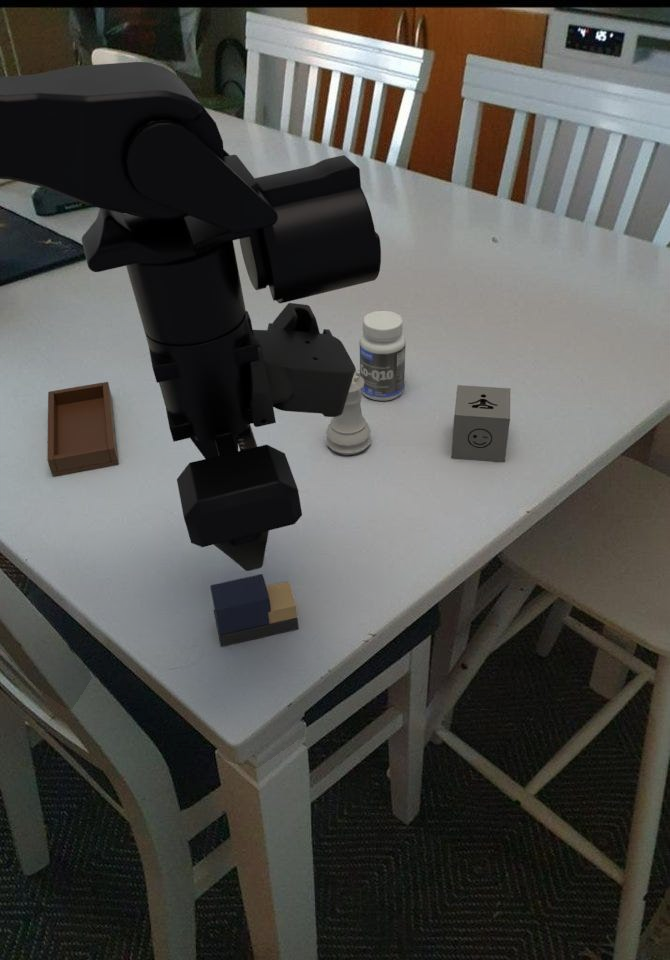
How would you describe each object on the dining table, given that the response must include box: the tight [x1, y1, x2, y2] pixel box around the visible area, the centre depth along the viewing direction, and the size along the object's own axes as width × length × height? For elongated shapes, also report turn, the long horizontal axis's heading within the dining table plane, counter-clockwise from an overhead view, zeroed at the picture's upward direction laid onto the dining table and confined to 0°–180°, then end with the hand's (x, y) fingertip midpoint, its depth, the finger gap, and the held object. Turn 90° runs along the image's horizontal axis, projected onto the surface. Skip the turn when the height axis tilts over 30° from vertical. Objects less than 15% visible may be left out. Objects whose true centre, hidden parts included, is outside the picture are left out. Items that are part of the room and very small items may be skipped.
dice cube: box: [450, 384, 511, 463], centre depth 77 cm, size 5×5×5 cm
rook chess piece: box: [325, 367, 372, 456], centre depth 77 cm, size 4×4×8 cm
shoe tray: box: [46, 381, 120, 477], centre depth 81 cm, size 6×12×2 cm, turn 15°
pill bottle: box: [358, 310, 407, 402], centre depth 84 cm, size 5×5×8 cm
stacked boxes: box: [209, 573, 300, 648], centre depth 61 cm, size 6×3×4 cm, turn 105°
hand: (241, 521), depth 55 cm, fingers open, 9 cm apart
